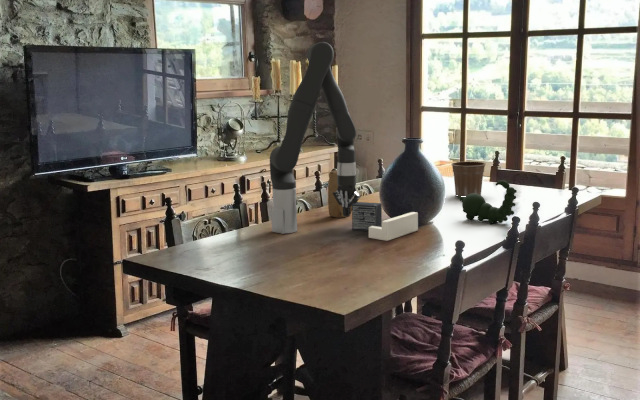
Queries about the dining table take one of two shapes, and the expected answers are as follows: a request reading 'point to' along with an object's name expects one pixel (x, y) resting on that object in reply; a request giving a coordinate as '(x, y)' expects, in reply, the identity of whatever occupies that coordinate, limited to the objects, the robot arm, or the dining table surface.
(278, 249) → the dining table surface
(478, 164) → the plant pot
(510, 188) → the toy figurine
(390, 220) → the board
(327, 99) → the robot arm
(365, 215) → the small box
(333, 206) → the block
